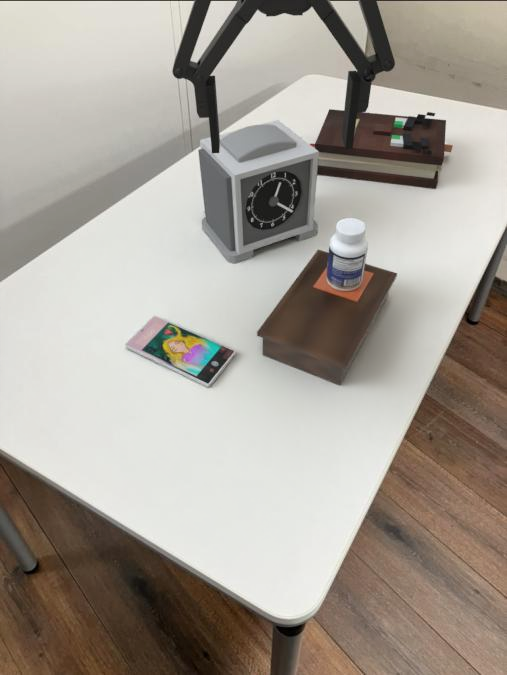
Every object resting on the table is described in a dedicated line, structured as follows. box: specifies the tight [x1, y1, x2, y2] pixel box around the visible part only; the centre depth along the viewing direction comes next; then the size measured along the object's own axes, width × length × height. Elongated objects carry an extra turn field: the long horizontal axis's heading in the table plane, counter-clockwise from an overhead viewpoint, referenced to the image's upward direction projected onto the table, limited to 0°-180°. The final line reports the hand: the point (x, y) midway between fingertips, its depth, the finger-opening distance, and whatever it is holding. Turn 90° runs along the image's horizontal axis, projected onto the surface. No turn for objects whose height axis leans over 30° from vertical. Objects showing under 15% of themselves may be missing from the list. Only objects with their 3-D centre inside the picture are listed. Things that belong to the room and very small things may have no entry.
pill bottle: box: [327, 217, 369, 291], centre depth 73 cm, size 5×5×10 cm
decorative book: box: [309, 108, 453, 190], centre depth 109 cm, size 19×8×30 cm
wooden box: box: [256, 249, 398, 386], centre depth 76 cm, size 13×21×5 cm, turn 151°
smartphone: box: [124, 315, 237, 388], centre depth 74 cm, size 7×1×15 cm
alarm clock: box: [197, 119, 319, 264], centre depth 88 cm, size 18×13×18 cm
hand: (281, 145), depth 53 cm, fingers open, 13 cm apart
